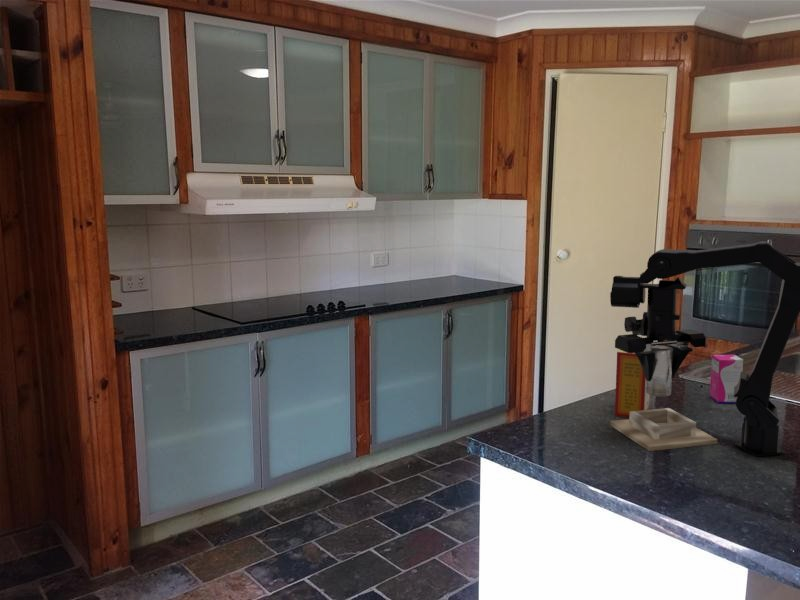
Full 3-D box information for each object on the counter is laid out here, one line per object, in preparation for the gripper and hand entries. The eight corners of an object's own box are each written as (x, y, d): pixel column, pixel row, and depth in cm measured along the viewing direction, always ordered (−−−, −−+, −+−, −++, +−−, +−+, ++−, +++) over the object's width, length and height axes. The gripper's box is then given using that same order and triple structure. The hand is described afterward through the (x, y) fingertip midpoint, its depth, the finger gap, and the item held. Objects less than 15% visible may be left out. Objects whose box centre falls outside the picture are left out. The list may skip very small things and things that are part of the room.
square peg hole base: (717, 443, 140) (718, 425, 140) (649, 451, 137) (649, 432, 137) (672, 419, 156) (672, 402, 155) (609, 425, 153) (610, 408, 152)
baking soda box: (622, 404, 167) (624, 342, 165) (649, 407, 164) (652, 345, 162) (614, 415, 159) (617, 350, 157) (643, 419, 156) (646, 353, 153)
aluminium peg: (676, 395, 142) (677, 349, 141) (655, 397, 141) (656, 351, 140) (662, 388, 147) (663, 344, 146) (641, 390, 146) (643, 346, 144)
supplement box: (732, 396, 171) (734, 353, 169) (741, 404, 165) (744, 359, 164) (708, 396, 172) (711, 353, 170) (717, 403, 166) (720, 359, 164)
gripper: (676, 300, 151) (674, 366, 153) (602, 305, 147) (601, 374, 149) (709, 308, 140) (706, 379, 143) (630, 314, 136) (628, 387, 139)
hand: (659, 379), depth 144 cm, fingers closed on aluminium peg, 5 cm apart
